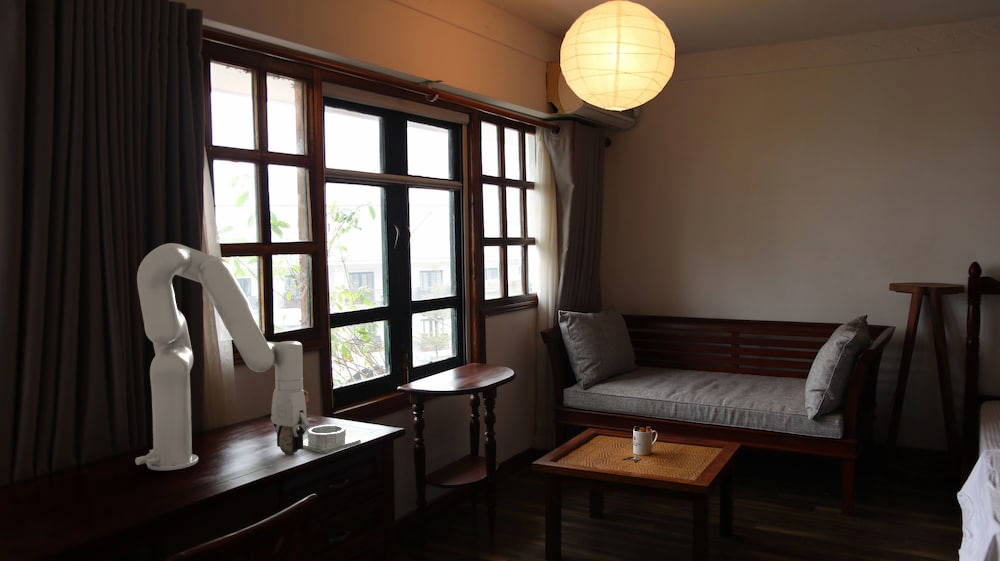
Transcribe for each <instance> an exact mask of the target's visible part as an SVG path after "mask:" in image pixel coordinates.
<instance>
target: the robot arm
mask: <svg viewBox="0 0 1000 561" xmlns="http://www.w3.org/2000/svg"><path fill="white" fill-rule="evenodd" d="M137 270H138V271H137V275H136V276H137V277H136V281H137V290H138V291H137V292H138V296H139V301H140V302H139V303H140V309H141V314H142V320H143V324H144V325H143V326H144V332H145V335H146V338H148V339H149V340H150V341H151V342H152V344H153V349H154V354H155V356H154V357H153V359H152V361H151V364H150V368H149V378H150V387H151V389H150V390H151V405H152V406H151V408H152V435H153V436H152V439H153V440H152V444H153V448H152V449H149V452H148V453H147V454H146V455H142V456H139V457H137V456H136V458H135V459H134V462H135V464H136V465H137V466H138V465H143V464H146V466H147V468H148V469H149V470H153V471H174V470H176V471H177V470H181V469H186V468H188V467H191V466H194V465H196V464H197V463H198V462H199V456H198V455H196V454H193V448H192V442H193V441H192V440H193V439H192V400H191V398H192V396H191V395H192V394H191V378H190V377H191V376H190V375H191V374H190V373H191V370H192V368H193V365H194V353H193V350H192V345H191V339H190V335H189V330H188V329H189V328H188V324H187V320H186V318H185V316H184V314H183V313H182V312H181V311H180V310H179V309H178V307H177V303H176V297H175V296H176V295H175V290H174V287H173V278H174V277H175V275H176V276H179V277H183V278H185V279H188V280H191V281H194V282H197V283H200V284H201V286H202V287H203V289H204V290H205V293H206V295H208V298H209V299H210V301H211V303H212V304H213V307H214V308H215V310H216V312H217V314H218V316H219V317H220V320H221V321H222V324H223V325H224V327H225V329H226V330H227V332H228V333H229V335H230V337H231V339H232V342H233V343H234V345H235V347H236V349H237V350H238V352H239V354H240V356H241V357H242V359H243V361H244V363H245V365H246V366H247V367H248V368H249V369H250V370H251V371H253V372H256V373H264V372H267V371H269V370H270V369H271V368H272V367H273V366H274V368H275V369H274V370H275V371H274V374H275V375H274V376H275V377H274V378H275V382H274V384H275V386H274V387H275V389H274V390H273V394H272V401H271V416H270V421H271V422H272V424H273V426H274V428H275V433H276V446H277V447H278V448H280V446H279V437H280V432H281V429H282V427H283V426H286V427H292V429H293V432H294V437H293V450H294V451H296V450H298V451H299V450H302V449H303V440H304V435H305V434H306V433H305V432H306V431H308V428H309V427H311V426H310V422H309V421H308V418H307V412H306V403H305V396H304V375H303V373H304V372H303V370H304V369H303V368H304V367H303V365H304V364H303V362H304V360H303V357H304V356H303V344H302V343H301V342H299V341H296V340H286V341H284V340H283V341H280V342H278V341H277V342H276V341H267V339H266V338H265V336H264V334H263V332H262V331H261V329H260V327H259V324H258V323H257V320H256V318H255V314H254V310H253V308H252V305H251V302H249V299H248V298H247V296H246V294H245V293H244V291H243V289H242V287H241V285H240V283H239V282H238V280H237V279H236V278H237V277H236V276H235V274H234V273H233V269H232V266H231V264H230V263H229V262H228V261H227V260H226V259H225V258H224V259H223V258H221V257H218V256H214V255H211V254H208V253H206V252H202V251H200V250H197V249H194V248H192V247H189V246H186V245H184V244H180V243H172V242H171V243H165V244H162V245H159V246H158V247H156V248H154V249H153V250H151V251H150V252H149V253H148V254H147V255H146V256H145V257H144V258H143V260H141V263H140V265H139V266H138V269H137ZM297 427H298V429H299V430H298V431H297Z"/></svg>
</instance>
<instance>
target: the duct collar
mask: <svg viewBox="0 0 1000 561" xmlns="http://www.w3.org/2000/svg"><path fill="white" fill-rule="evenodd" d="M346 432H347V431H346V428H345V426H344V425H342V426H341V425H338V424H337V425H336V424H323V425H317V426H313V427H310V428H309V429H307V438H305V439H304V438H303V448H302V449H303V450H308V451H312V452H317V453H321V454H329V453H332V452H335V451H339V450H342V449H344V448H347V447H351V446H353V445H357V444H360V443H361V442H362V440H361V438H356V437H351V436H347V435H346Z"/></svg>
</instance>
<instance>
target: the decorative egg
mask: <svg viewBox="0 0 1000 561" xmlns="http://www.w3.org/2000/svg"><path fill="white" fill-rule="evenodd" d="M298 430H299V427H297V431H298ZM293 437H294V432H293V429H292V427H286V426H283V427H282V429H281V432H280V437H279V446H280V447H279V448H280V450H281V452H282V453H284V454H285V455H287V456H288V455H290V456H291V455H294V454H295V453H297V452H298V451H299V450H296V451H294V450H293Z"/></svg>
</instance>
